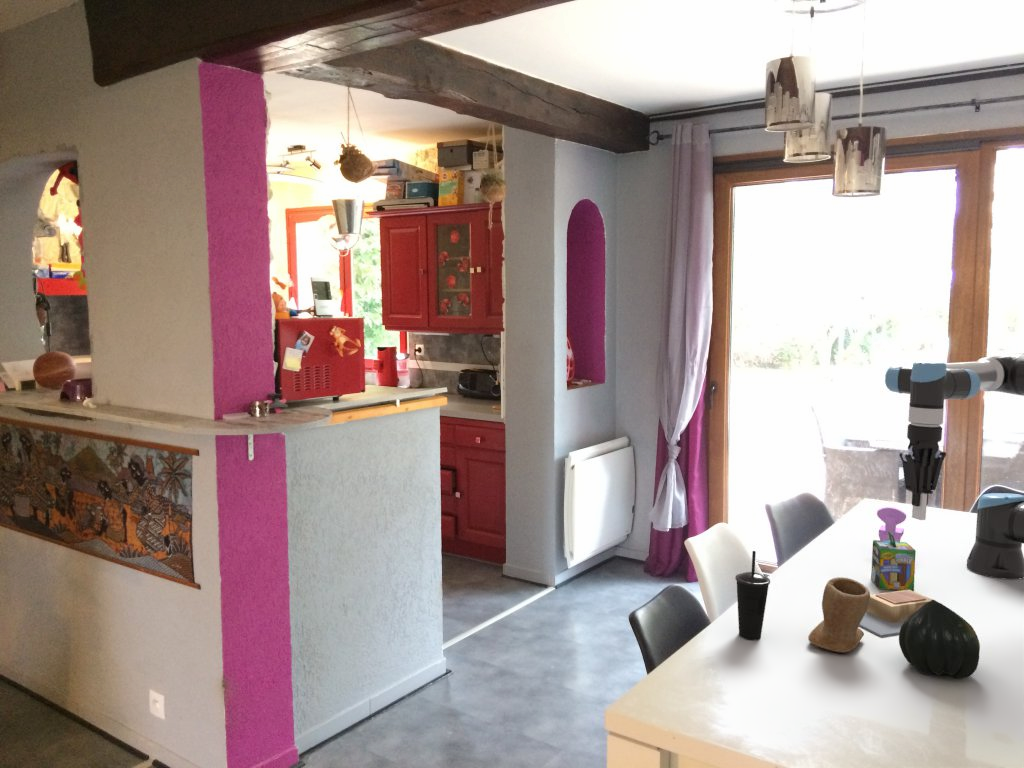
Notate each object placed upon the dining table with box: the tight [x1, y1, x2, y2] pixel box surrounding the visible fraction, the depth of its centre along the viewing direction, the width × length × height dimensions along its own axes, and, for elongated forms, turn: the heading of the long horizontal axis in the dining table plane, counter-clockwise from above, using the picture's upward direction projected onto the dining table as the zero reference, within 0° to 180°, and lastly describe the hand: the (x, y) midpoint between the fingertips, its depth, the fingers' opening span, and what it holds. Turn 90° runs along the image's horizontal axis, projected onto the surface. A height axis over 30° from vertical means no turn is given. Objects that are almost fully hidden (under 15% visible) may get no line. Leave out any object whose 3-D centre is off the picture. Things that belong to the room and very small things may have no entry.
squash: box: [898, 599, 981, 679], centre depth 167 cm, size 14×15×15 cm
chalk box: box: [870, 531, 916, 592], centre depth 219 cm, size 9×9×15 cm
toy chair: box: [876, 506, 907, 542], centre depth 250 cm, size 8×9×15 cm
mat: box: [859, 611, 904, 638], centre depth 196 cm, size 20×18×1 cm
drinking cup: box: [734, 550, 771, 641], centre depth 182 cm, size 8×8×20 cm
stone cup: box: [808, 576, 871, 653], centre depth 179 cm, size 15×12×15 cm
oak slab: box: [867, 590, 934, 623], centre depth 197 cm, size 4×8×14 cm
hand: (918, 518), depth 197 cm, fingers closed
